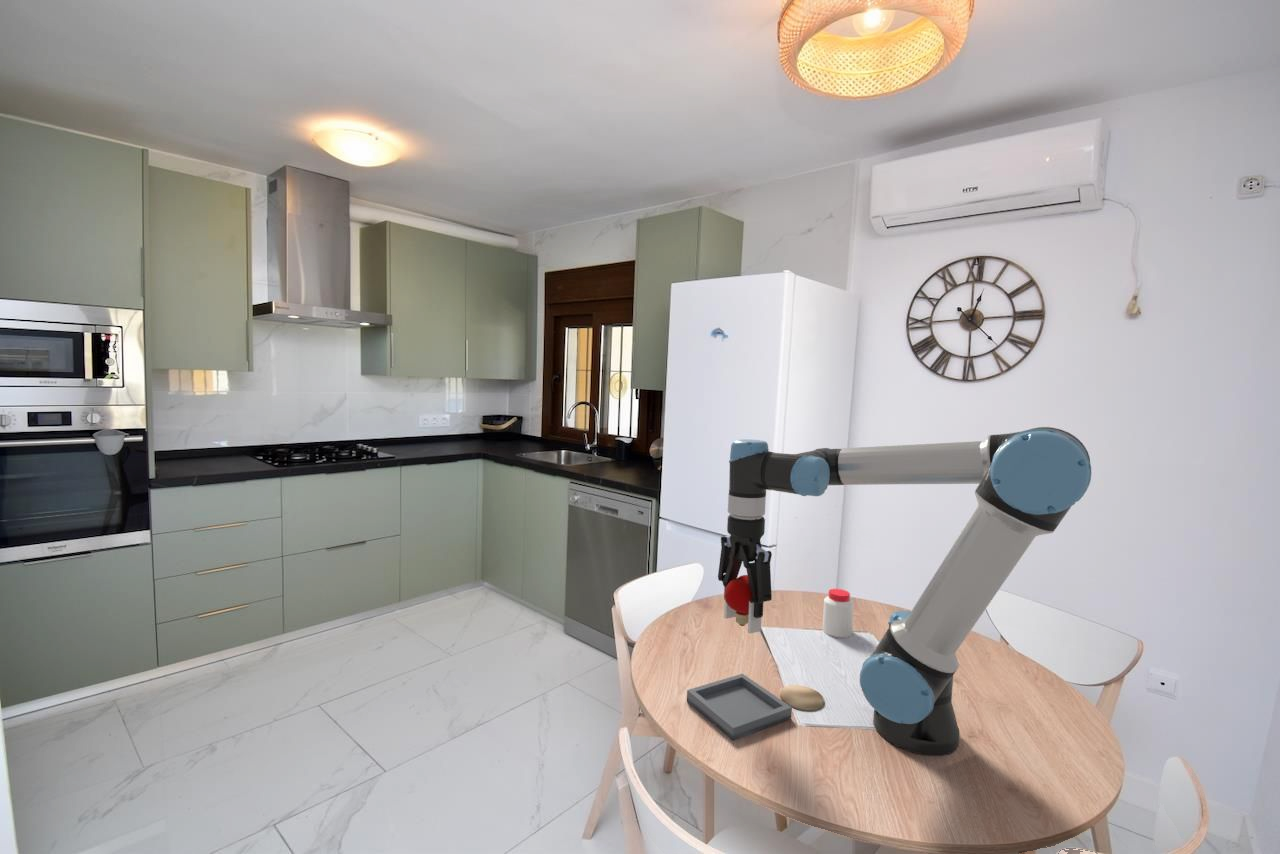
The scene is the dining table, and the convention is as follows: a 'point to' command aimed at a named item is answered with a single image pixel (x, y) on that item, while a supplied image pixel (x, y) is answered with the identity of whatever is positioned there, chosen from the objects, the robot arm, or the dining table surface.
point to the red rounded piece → (739, 598)
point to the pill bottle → (838, 614)
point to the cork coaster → (801, 697)
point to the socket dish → (738, 706)
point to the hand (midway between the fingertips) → (742, 623)
